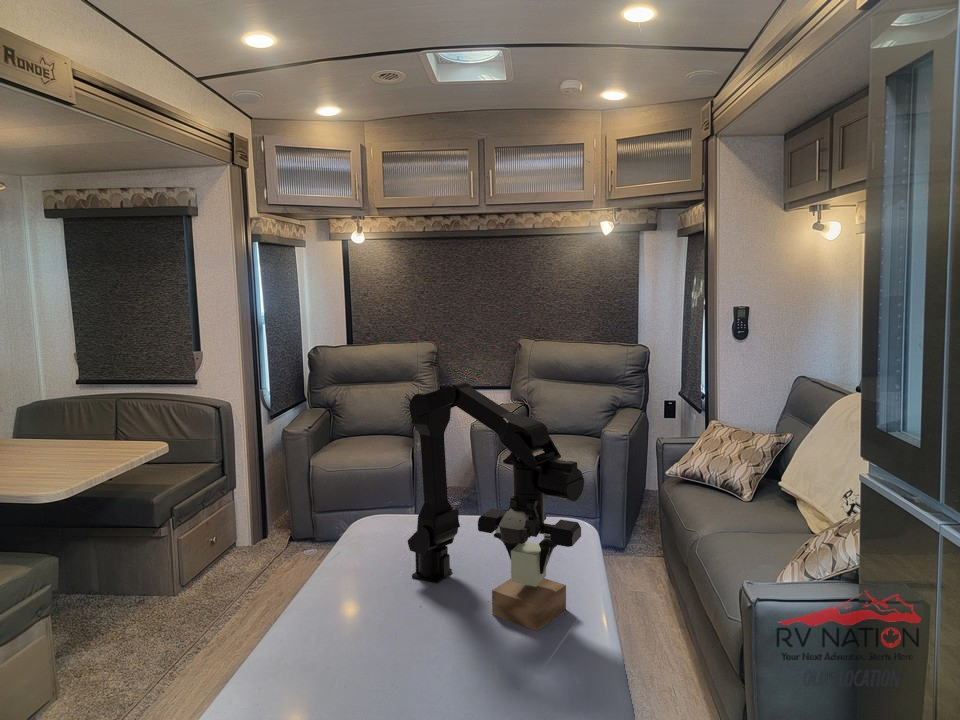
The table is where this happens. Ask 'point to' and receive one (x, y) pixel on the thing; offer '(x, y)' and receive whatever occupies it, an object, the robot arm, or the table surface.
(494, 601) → the walnut block
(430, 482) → the robot arm
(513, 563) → the sage block
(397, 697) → the table surface
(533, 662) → the table surface
